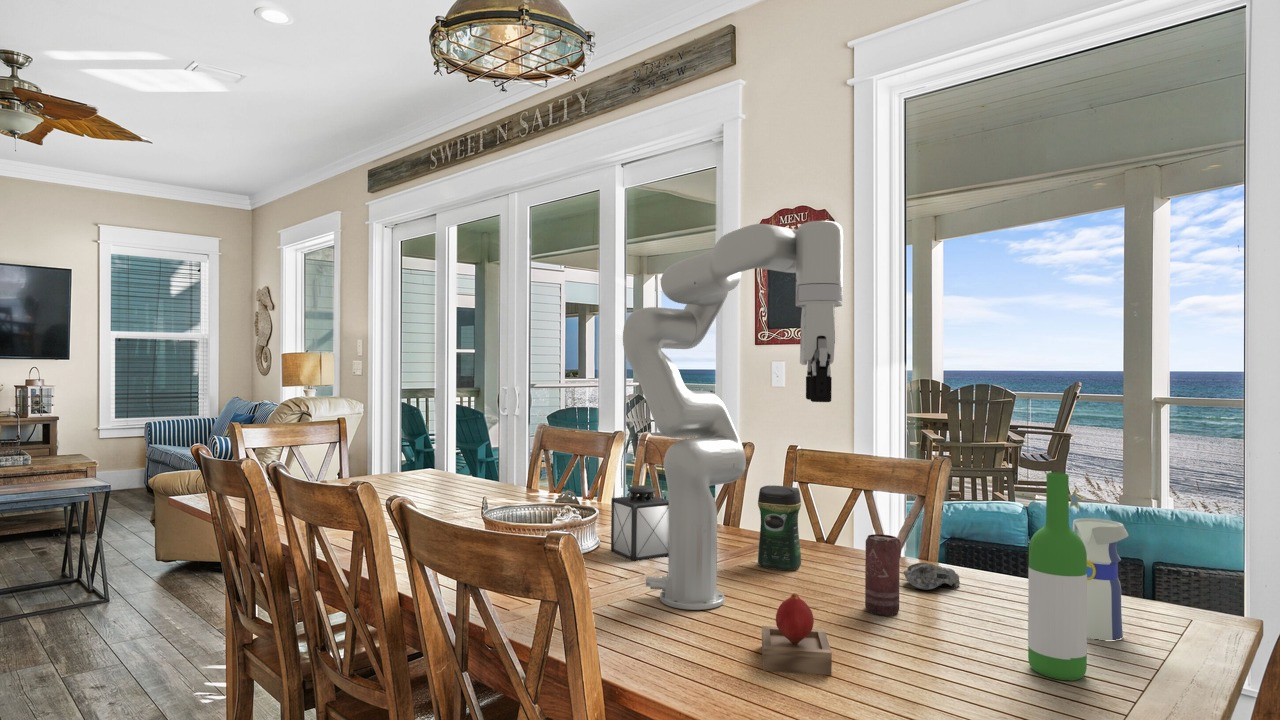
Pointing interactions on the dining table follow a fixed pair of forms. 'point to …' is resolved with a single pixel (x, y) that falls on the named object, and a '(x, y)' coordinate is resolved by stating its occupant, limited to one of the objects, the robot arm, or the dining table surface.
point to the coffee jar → (779, 528)
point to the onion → (794, 619)
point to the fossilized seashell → (930, 576)
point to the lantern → (640, 523)
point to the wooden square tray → (796, 652)
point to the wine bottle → (1057, 590)
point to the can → (882, 574)
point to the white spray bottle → (1101, 574)
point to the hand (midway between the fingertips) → (818, 400)
